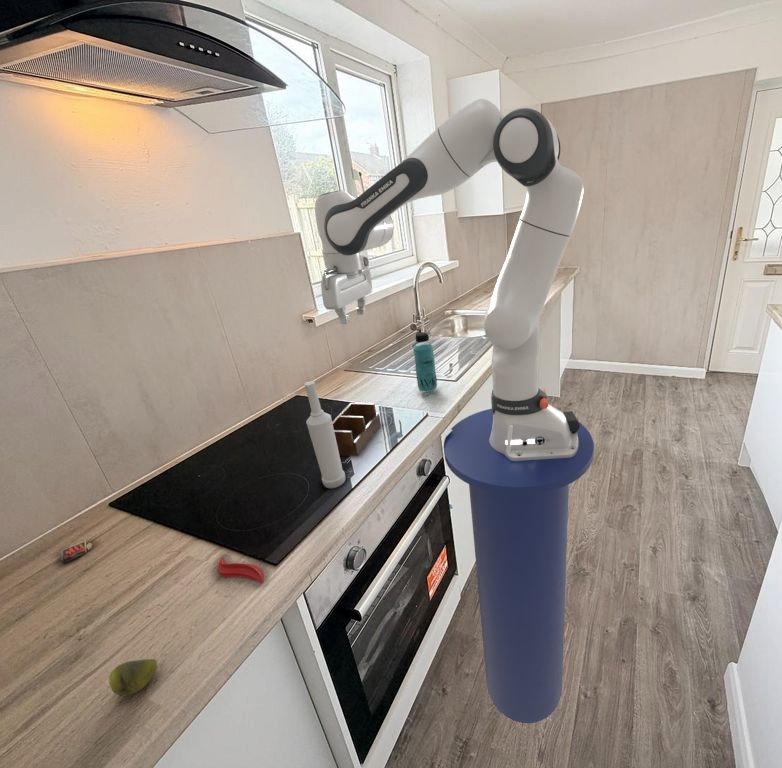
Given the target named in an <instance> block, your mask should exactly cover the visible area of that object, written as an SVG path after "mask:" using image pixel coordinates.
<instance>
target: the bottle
mask: <svg viewBox="0 0 782 768" xmlns="http://www.w3.org/2000/svg"><path fill="white" fill-rule="evenodd" d="M303 384H304V388H305V392H306V394H307V399H308V403H309V405H310V410H311V411H310V415H309V417H308V418H307V419H306V421H305V422H306V426H307V429H308V433H309V436H310V437H309V438H310V440H311V444H312V446H313V451H314V454H315V456H316V460H317V463H318V467H319V470H320V474H321V482H322V484H323V486H324V488H327V489H335V488H339V487H340V486H342V485H343V484H344V483H345V482H346V473H345V470H343V465H342V461H341V457H340V456H341V455H339V451H338V446H337V442H336V437H335V433H334V428H333V423H332V421H333V420H332V415H331V414H330V413H327V412H324V410H323V409H322V406H321V402H320V399H319V395H318V390H317V387H316V386H317V385H316V382H315V381H314V380H310V381H306V382H304V383H303Z"/></svg>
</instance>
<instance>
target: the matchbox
mask: <svg viewBox="0 0 782 768" xmlns="http://www.w3.org/2000/svg"><path fill="white" fill-rule="evenodd" d="M92 548H93V544H92V542H88V543H87V541H86V540H83V541H81V542H78V543H76V544H73V545H70V546H69V547H66V548H65V549H62V550H61V551H60V557H61V558H60V561H62V562H63V563H66V562H70V561H71V562H72V561H73V560H74V559H76V558H78V557H81V556H82V555H84V554H86V553H87V551H89V550H91V549H92Z"/></svg>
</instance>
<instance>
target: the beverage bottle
mask: <svg viewBox="0 0 782 768" xmlns="http://www.w3.org/2000/svg"><path fill="white" fill-rule="evenodd" d="M429 340H430V337H429V333H427V332H417V333H415V343H416V342H417V343H416V344H415V345H414V346H413V356H414V364H415V366H414V367H415V375H416V376H415V377H416V378H415V379H416V383H417V389H418V390H419V391H420V392H423V393H424V392H427V393H428V392H432V391H434V390H436V389H437V387H438V378H437V372H436V361H435V354H434V345H433V344H431V343H430V342H428V341H429Z"/></svg>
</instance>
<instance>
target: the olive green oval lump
mask: <svg viewBox="0 0 782 768" xmlns="http://www.w3.org/2000/svg"><path fill="white" fill-rule="evenodd" d="M157 666H158V662H157V660H156V659H154V658H153V659H152V658H141V659H136V660H129V661H125V662H123V663H122V664H119V665H118V666H115V668H114V669H113V670H112V671H111V672H110V674H109V676H108V683H109V686H110V689H111V691H112V693H114V694H116V695H118V696H123V697H124V696H125V697H127V696H132V695H135V694H136V693H138V692H139V691H141V690H143V689H144V688H145V687H146V686H147V685H148V683H150V681H151V680H152V679H153V677H154V676H155V673H156V671H157V668H158V667H157Z"/></svg>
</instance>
